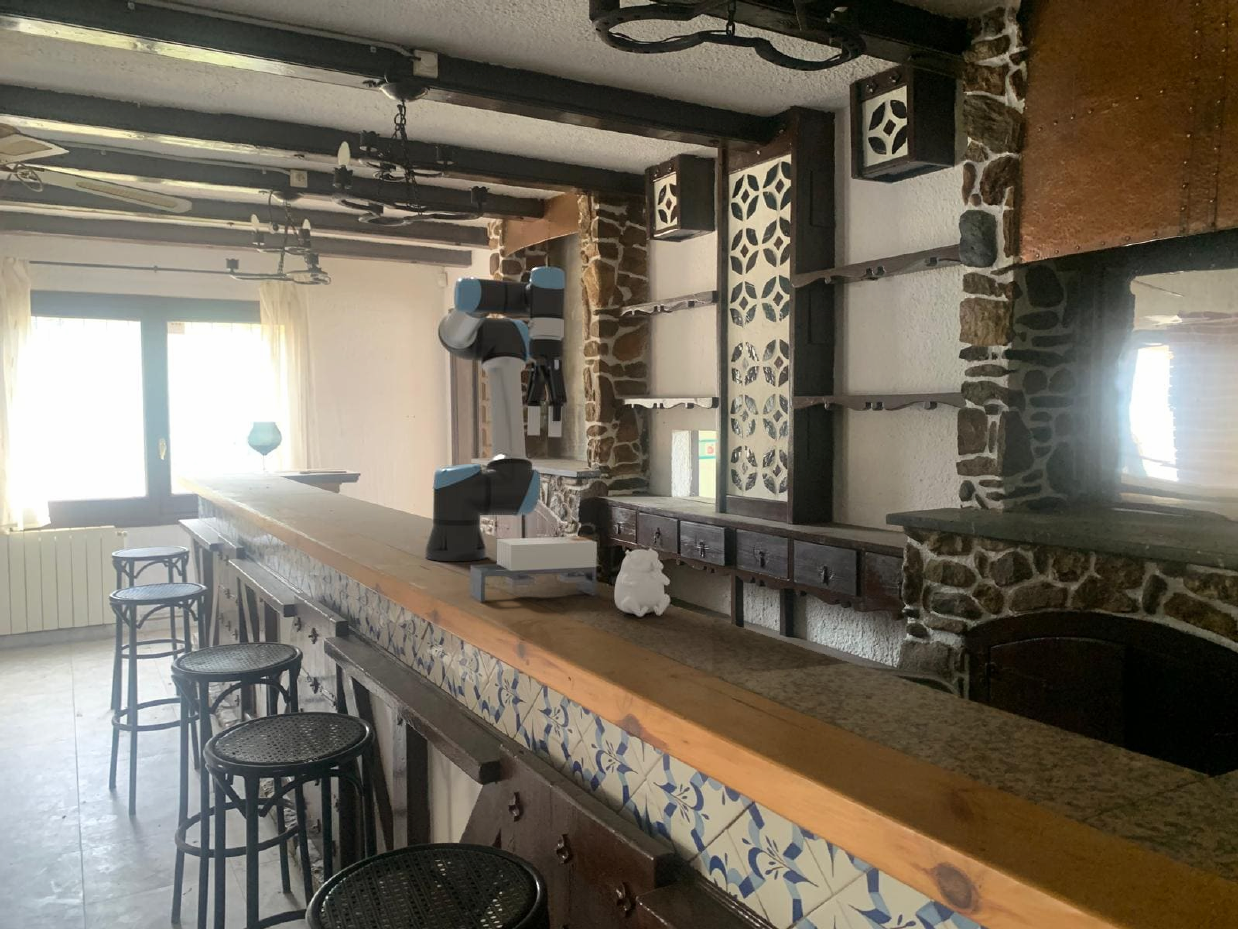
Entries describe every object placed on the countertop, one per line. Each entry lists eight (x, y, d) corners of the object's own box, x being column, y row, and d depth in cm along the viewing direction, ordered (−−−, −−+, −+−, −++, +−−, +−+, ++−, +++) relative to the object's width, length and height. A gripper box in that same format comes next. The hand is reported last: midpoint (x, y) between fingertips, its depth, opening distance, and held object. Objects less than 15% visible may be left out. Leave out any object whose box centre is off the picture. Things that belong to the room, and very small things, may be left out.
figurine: (604, 610, 174) (606, 546, 173) (650, 607, 178) (652, 544, 177) (627, 621, 165) (628, 554, 164) (675, 617, 169) (677, 552, 168)
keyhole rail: (469, 595, 184) (470, 565, 184) (581, 589, 194) (582, 560, 194) (480, 602, 178) (481, 571, 177) (595, 595, 188) (596, 566, 187)
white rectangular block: (496, 580, 187) (497, 537, 187) (578, 576, 195) (579, 535, 194) (510, 588, 179) (511, 543, 179) (595, 583, 187) (596, 540, 186)
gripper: (512, 341, 213) (510, 434, 214) (549, 333, 190) (547, 437, 191) (542, 343, 216) (540, 434, 217) (583, 336, 193) (581, 437, 194)
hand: (543, 436), depth 204 cm, fingers open, 13 cm apart
